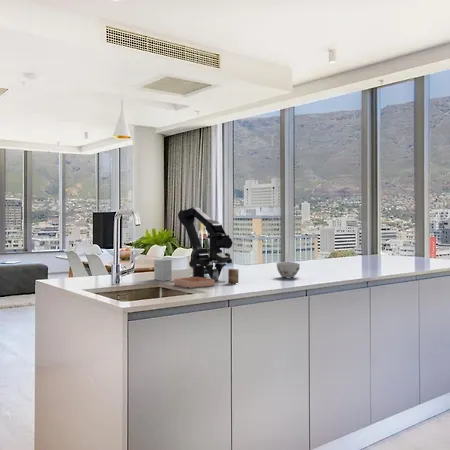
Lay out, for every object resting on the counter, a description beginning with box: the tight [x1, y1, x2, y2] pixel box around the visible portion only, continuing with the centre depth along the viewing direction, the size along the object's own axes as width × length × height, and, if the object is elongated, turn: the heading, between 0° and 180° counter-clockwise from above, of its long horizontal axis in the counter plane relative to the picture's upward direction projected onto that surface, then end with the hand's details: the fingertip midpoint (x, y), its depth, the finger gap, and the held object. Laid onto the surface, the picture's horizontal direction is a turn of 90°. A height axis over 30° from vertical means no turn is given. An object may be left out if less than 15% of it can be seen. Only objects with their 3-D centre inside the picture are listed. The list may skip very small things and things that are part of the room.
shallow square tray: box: [173, 276, 216, 289], centre depth 249 cm, size 14×14×3 cm
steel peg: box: [210, 268, 219, 282], centre depth 266 cm, size 4×4×6 cm
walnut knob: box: [227, 268, 239, 285], centre depth 257 cm, size 5×5×7 cm
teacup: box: [276, 261, 301, 278], centre depth 282 cm, size 15×12×8 cm
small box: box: [153, 258, 173, 282], centre depth 268 cm, size 8×6×10 cm
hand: (214, 277), depth 266 cm, fingers closed on steel peg, 4 cm apart
